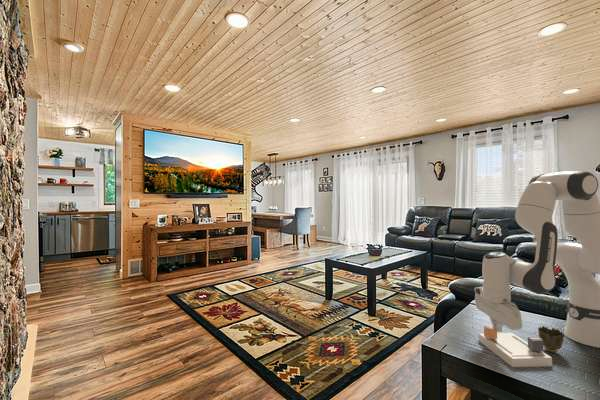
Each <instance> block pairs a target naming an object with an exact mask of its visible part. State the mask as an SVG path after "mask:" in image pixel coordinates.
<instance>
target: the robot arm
mask: <svg viewBox="0 0 600 400" xmlns="http://www.w3.org/2000/svg"><path fill="white" fill-rule="evenodd" d="M598 190H599V181H598V179H597V177H596V176H595V175H594V174H593V173H592V172H589V171H583V170H582V171H581V170H576V171H557V172H552V173H551V172H550V173H543V174H538V175H535V176H533V177H532V178H531V179H530V180H529V182H528V184H527V186H526V187H525V188H524V190H523V192H522V194H521V196H520V198H519V201H518V204H517V207H516V209H515V214H514V219H515V221H516V223H517V225H518V226H519V227H521V229H523V230H525V231H527V232H528V233H530V234H532V235H533V236H534V237H535V240H536V249H535V256H534V261H533V263H531V262H528V261H527V262H526V261H523V260H519V259H516V258H513V257H511V256H509V255H507V253H505V252H502V251H491V252H488V253H486V254H484V255H483V259H482V265H481V266H482V267H481V268H482V269H481V272H482V273H481V274H482V278H483V281H482V286H478V287H474V292H475V294H474V303H475V307H476V309H477V310H478V311H480V312H482V313H484V314H485V315H487V316H488V317H489V319H490V320H489V321H490V322H491V325H492V326H493V329H495V330H496V331H497V333H503V327H504V326H505V327H507V328H508V329H510V330H511V331H517V330H518V331H519V330H521V329H522V328H523V321H522V314H521V311H520V309H519V308H518V306H517V305H516V303H514V302H512V301H511V300H512V297H511V285H514V286H517V287H520V288H522V289H526V290H528V291H530V292H532V293H534V294H536V295H544V294H546V293H549V292H551V291H552V290H553V289H554V288H555V286H556V284H557V279H556V264H557V265H558V267H559V268H560V270H562V272H563V274H564V275H565V277H566V280H567V284H568V295H569V297H568V301H567V315H566V322H565V325H564V326H563V327H564V328H563V330H564V331H563V333H564V337H567V338H568V339H570V340H571V341H574V342H577V343H579V344H582V345H585V346H590V347H593V348H598V349H599V348H600V281H598V280H597V279H596V278H595V275H594V274H596V275H600V201H599V198H598V195H597V192H598ZM556 201H562V203H561V205H562V207H561V209H562V214H563V215H562V217H563V223H564V229H565V231H566V232H567V233H568V234H569V235H570V236H572V237H573V238H575V239H576V240H577V242H578V243H577V242H565V241H564V242H558V236H559V235H558V233H559V232H558V229H557V226H556V225H555V224H554V222H553V214H554V212H555V211H554V210H555V207H556Z"/></svg>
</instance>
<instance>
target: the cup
mask: <svg viewBox="0 0 600 400" xmlns="http://www.w3.org/2000/svg"><path fill="white" fill-rule="evenodd" d="M537 331H538V338H541V339H542V340H543V349H544V350H545V352H548V353H551V354H557V353H558V350H560V349H561V348H562V347H563V344H564V337H565V335H564V332H563V331H560V330H559V329H555V328H553V327H552V328H548V326H543V325H542V326H539V327H538V328H537Z"/></svg>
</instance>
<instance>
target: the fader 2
mask: <svg viewBox="0 0 600 400" xmlns="http://www.w3.org/2000/svg"><path fill="white" fill-rule="evenodd" d="M527 342H528V348H529V349H530V350H532V351H533V352H538V351H542V352H544V345H543V340H542V339H541V338H539V336H529V337H527Z"/></svg>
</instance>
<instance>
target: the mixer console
mask: <svg viewBox="0 0 600 400" xmlns="http://www.w3.org/2000/svg"><path fill="white" fill-rule="evenodd" d="M478 342H479V343H481V344H482V345H484V346H485V348H487V349H489V350H490V351H492V353H493V354H495V355H497V356H498V357H499V358H500V359H502V360H503V361H504V362H505V363H506V364H508V365H510V367H511V368H529V367H533V368H534V367H535V368H536V367H552V366H553V357H552V356H550V355H548V354H547V353H545V352H544V351H538V352H533V351H532V350H530V349H529V348H528V341H526V340H525V339H523V338H521V336H518V335H516V334H515V333H513V332H497V339H487V338H486V337H485V336H484V332H483V333H480V332H479V333H478Z"/></svg>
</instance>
